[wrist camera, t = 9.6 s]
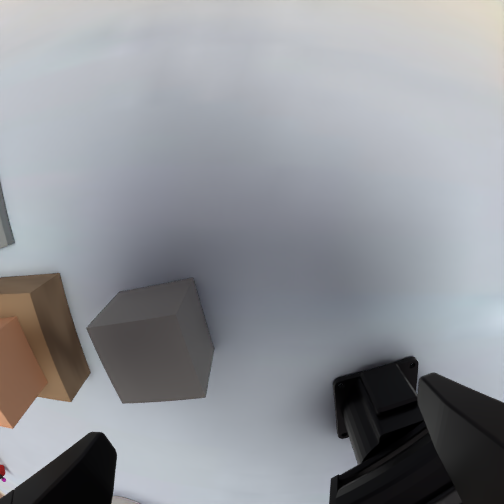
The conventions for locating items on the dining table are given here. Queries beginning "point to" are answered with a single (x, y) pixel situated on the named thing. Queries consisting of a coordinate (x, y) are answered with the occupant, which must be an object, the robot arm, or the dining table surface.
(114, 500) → the cup
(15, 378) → the terracotta block
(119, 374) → the charcoal block
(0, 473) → the glasses
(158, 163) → the dining table surface
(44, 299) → the walnut block
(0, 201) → the card
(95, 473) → the robot arm
